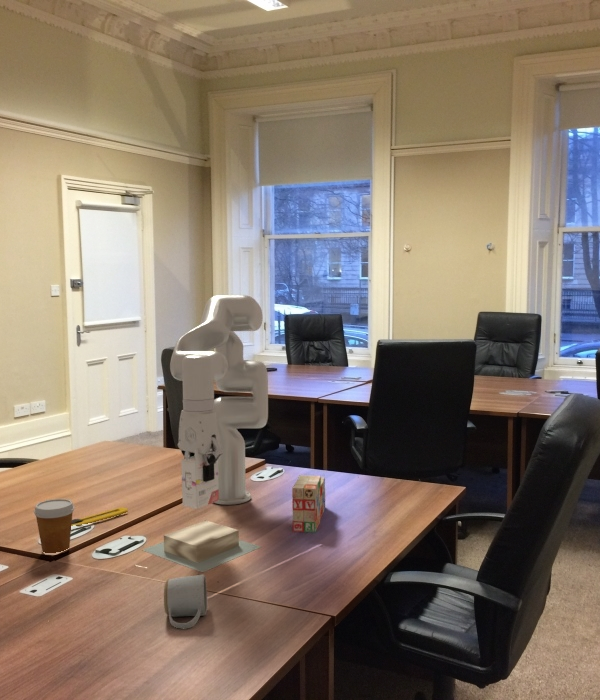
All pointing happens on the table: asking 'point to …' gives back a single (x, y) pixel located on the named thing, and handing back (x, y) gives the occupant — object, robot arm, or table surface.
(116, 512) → the utility knife
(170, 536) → the base block
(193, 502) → the ink cartridge box
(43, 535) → the disposable coffee cup
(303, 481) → the stack of blocks
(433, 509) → the table surface
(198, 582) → the ceramic mug
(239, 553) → the mat
